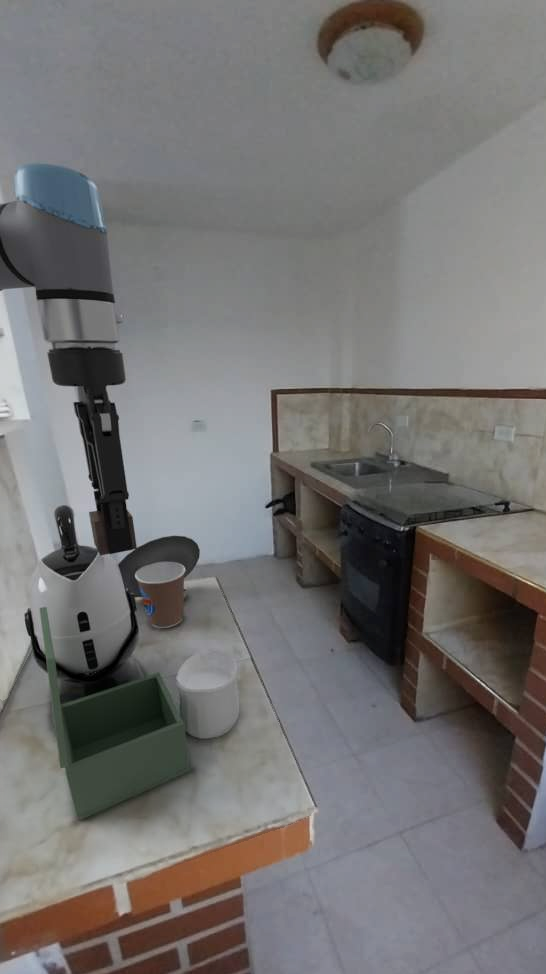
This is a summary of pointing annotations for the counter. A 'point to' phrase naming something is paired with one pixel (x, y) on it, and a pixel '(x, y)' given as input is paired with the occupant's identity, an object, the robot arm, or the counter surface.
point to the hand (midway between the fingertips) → (116, 543)
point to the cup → (208, 694)
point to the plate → (158, 558)
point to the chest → (122, 743)
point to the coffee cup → (162, 592)
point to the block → (100, 533)
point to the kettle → (83, 616)
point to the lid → (54, 687)
